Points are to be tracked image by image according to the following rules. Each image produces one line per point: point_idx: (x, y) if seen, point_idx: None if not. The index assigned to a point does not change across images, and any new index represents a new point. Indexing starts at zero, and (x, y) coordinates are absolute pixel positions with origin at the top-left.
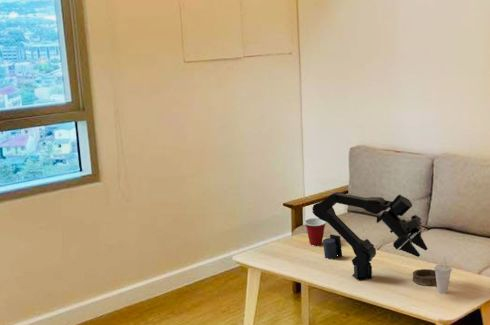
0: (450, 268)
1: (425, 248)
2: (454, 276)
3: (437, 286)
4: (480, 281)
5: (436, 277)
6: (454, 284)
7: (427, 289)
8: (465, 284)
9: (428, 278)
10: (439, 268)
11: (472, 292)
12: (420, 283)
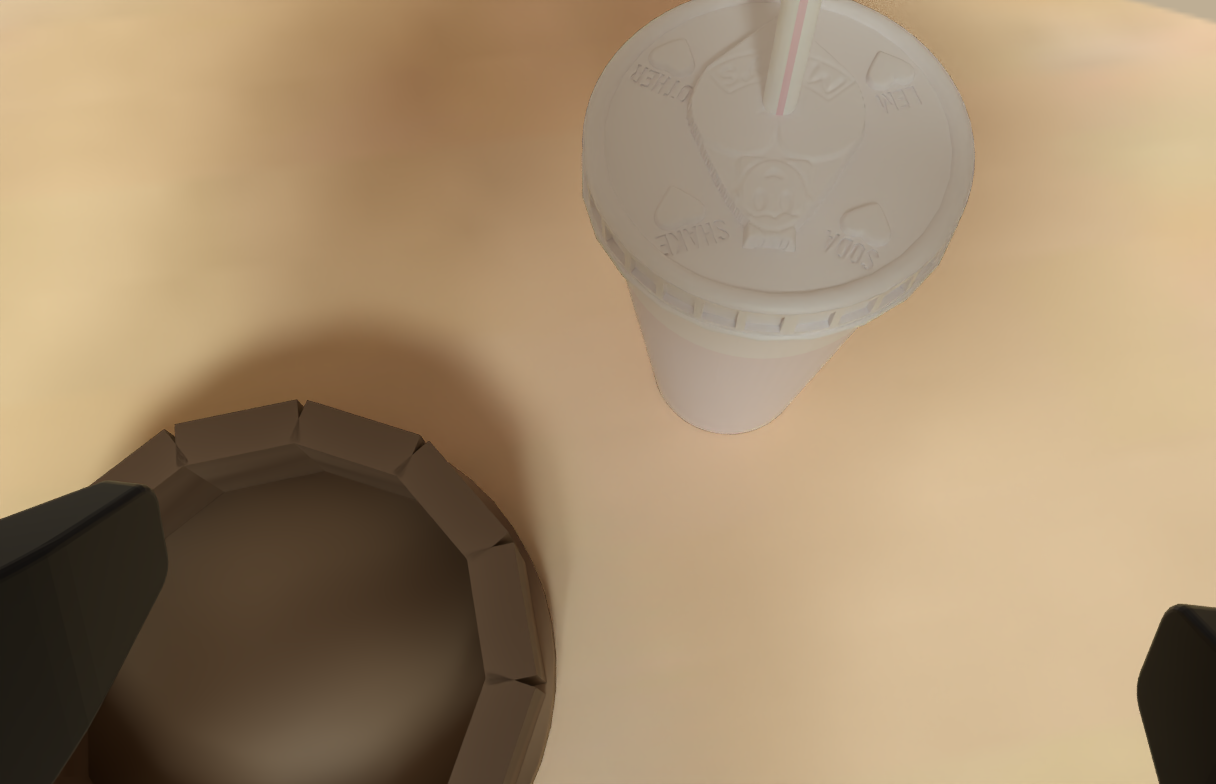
0: (752, 3)
1: (127, 562)
2: (13, 311)
3: (791, 397)
4: (169, 3)
5: (836, 346)
6: (365, 264)
7: (713, 595)
8: (328, 140)
9: (521, 591)
10: (851, 195)
11: (606, 35)
12: (540, 751)
